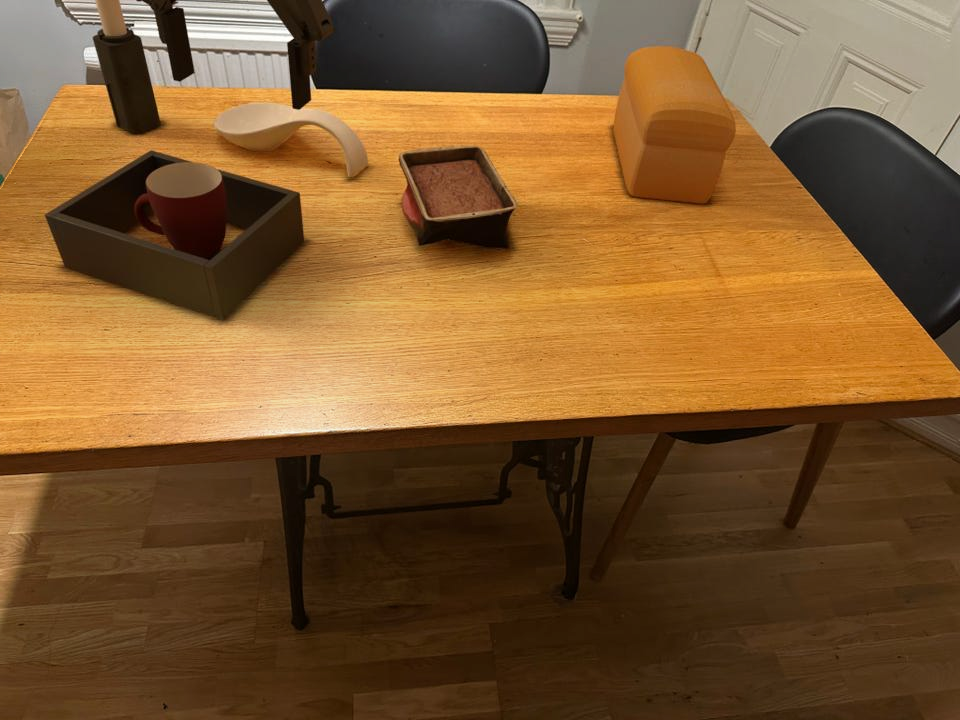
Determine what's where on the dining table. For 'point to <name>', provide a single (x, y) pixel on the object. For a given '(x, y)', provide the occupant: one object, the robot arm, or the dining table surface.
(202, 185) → the mug
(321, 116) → the spoon rest
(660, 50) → the bread
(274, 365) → the dining table surface
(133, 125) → the candle
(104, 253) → the dark rectangular frame
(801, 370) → the dining table surface
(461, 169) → the baking dish
